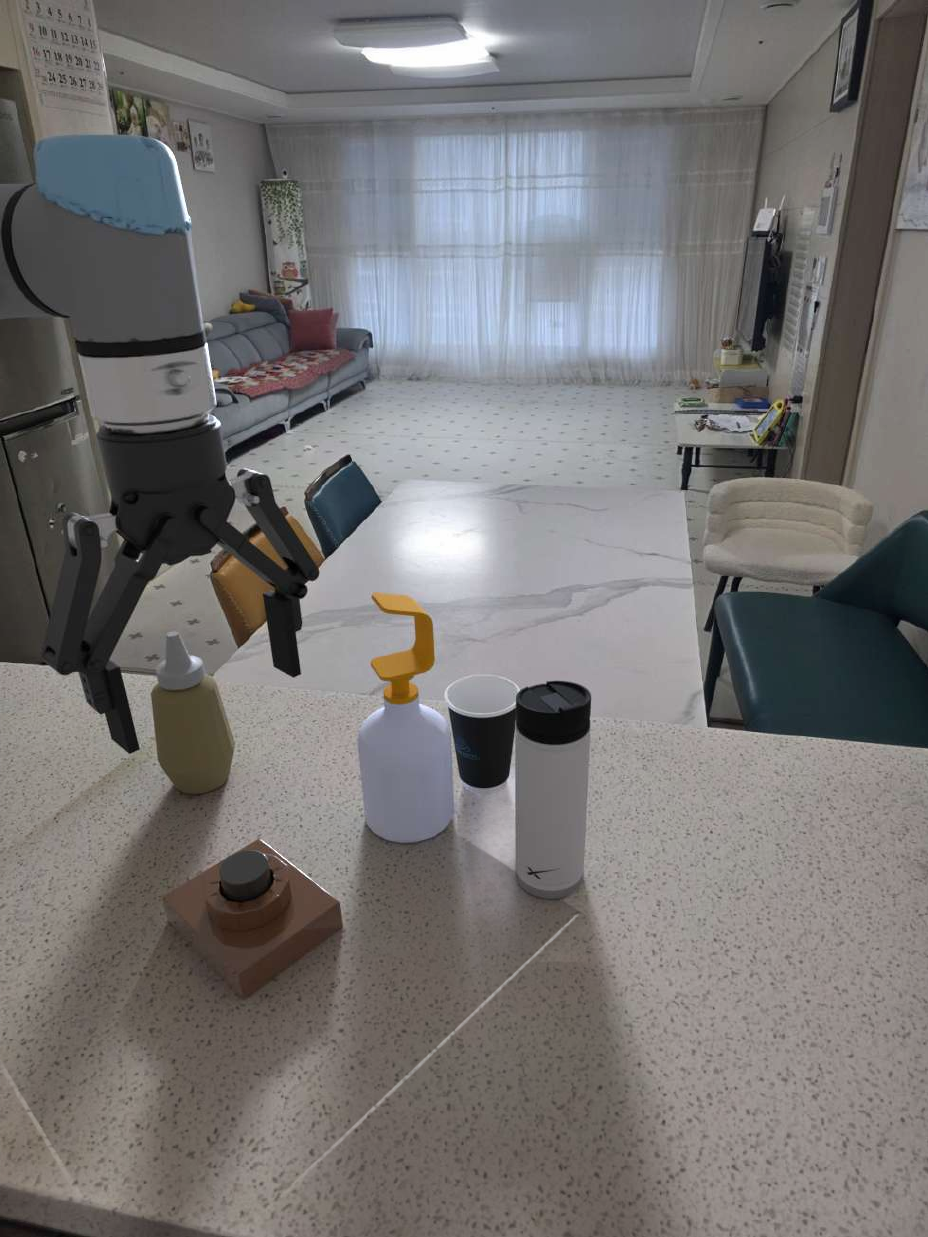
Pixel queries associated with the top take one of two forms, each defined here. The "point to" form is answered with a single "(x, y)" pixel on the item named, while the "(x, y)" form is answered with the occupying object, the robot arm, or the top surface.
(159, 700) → the squeeze bottle
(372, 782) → the soap bottle
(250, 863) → the grey button cap
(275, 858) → the button base
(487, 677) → the dixie cup
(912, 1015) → the top surface
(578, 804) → the travel mug
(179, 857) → the top surface
